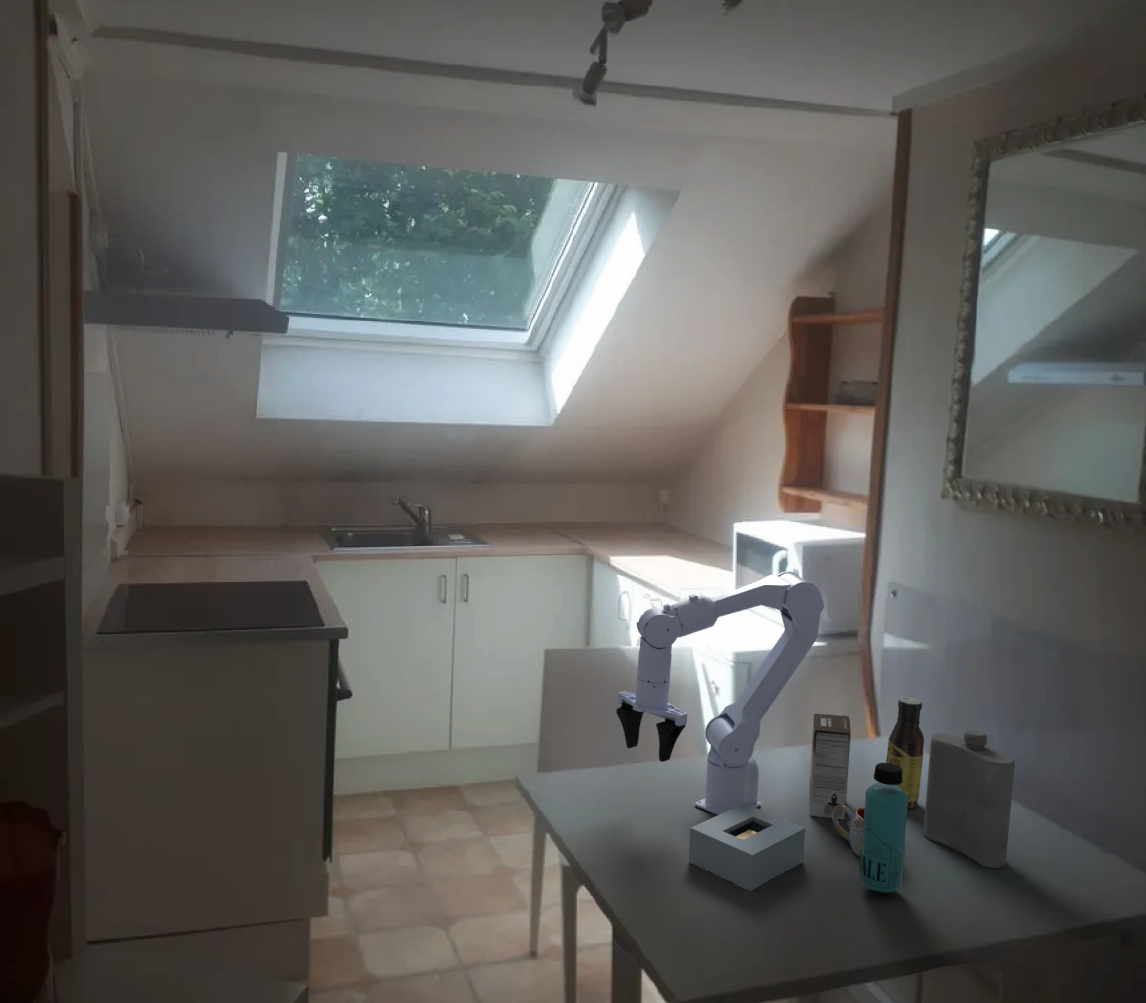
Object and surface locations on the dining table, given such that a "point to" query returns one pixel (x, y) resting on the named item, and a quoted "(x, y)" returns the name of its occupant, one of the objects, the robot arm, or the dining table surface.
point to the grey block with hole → (746, 846)
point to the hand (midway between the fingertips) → (648, 753)
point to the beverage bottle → (884, 830)
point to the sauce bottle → (908, 747)
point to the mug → (851, 827)
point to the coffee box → (829, 764)
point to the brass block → (746, 834)
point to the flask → (969, 797)
